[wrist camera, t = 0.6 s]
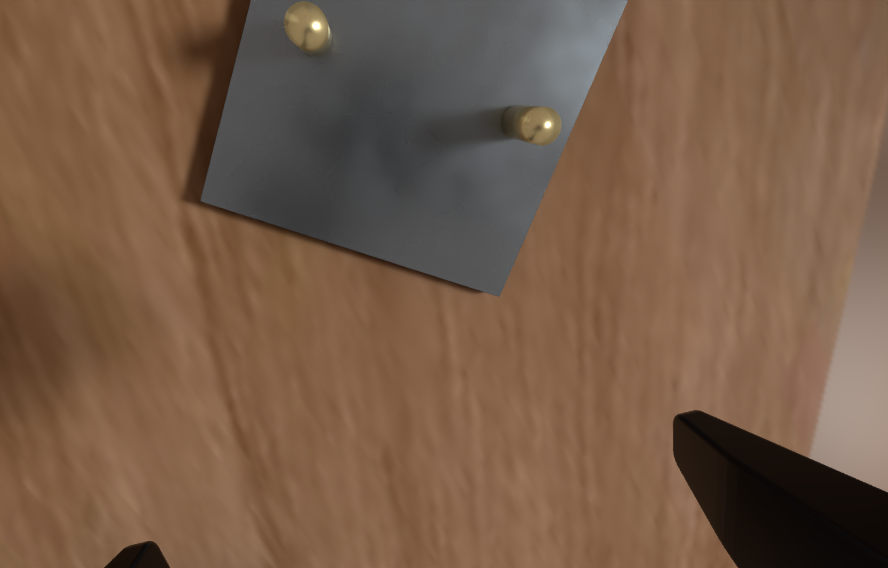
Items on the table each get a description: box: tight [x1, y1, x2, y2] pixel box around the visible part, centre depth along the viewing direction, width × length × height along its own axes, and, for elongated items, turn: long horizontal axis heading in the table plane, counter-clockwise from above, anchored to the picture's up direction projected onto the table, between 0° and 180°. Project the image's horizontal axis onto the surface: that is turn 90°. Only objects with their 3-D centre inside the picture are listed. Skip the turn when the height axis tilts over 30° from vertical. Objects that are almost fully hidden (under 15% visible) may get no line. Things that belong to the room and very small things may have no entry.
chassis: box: [200, 0, 628, 297], centre depth 17 cm, size 16×12×4 cm
